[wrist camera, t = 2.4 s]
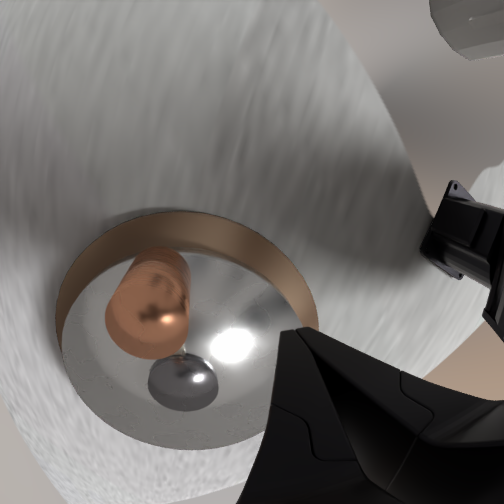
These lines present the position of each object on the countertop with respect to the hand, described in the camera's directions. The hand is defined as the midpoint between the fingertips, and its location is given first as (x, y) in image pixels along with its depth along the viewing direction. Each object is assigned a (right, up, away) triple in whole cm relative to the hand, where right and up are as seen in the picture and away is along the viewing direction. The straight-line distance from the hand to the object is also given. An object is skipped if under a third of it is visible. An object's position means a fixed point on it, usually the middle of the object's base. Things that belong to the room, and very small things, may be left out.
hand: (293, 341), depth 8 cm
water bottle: (+15, +21, +7) cm, 27 cm away
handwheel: (-5, -4, +10) cm, 12 cm away
